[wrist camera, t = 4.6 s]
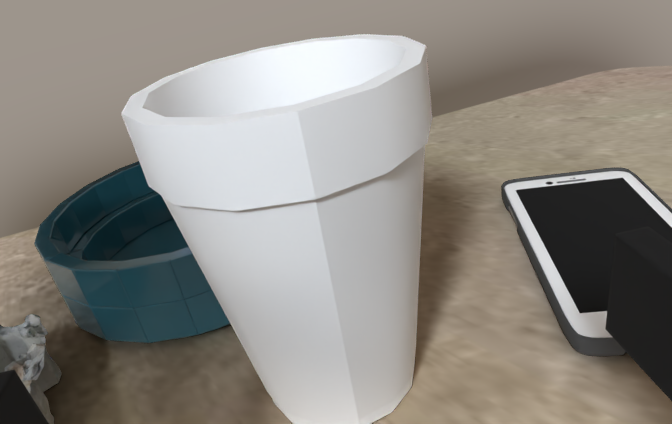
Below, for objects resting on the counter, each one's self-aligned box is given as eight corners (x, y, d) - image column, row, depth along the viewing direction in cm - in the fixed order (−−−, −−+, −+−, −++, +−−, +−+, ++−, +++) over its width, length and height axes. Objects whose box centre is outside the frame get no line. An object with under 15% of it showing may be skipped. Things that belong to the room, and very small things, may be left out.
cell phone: (574, 362, 20) (575, 344, 20) (497, 193, 33) (497, 180, 33) (791, 347, 19) (797, 327, 19) (625, 178, 32) (626, 164, 32)
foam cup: (383, 277, 28) (344, 26, 21) (502, 391, 20) (495, 51, 14) (212, 352, 25) (111, 86, 19) (274, 519, 17) (138, 159, 11)
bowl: (24, 374, 26) (-26, 295, 23) (121, 222, 39) (96, 162, 37) (333, 322, 25) (314, 235, 23) (322, 186, 39) (310, 124, 37)
